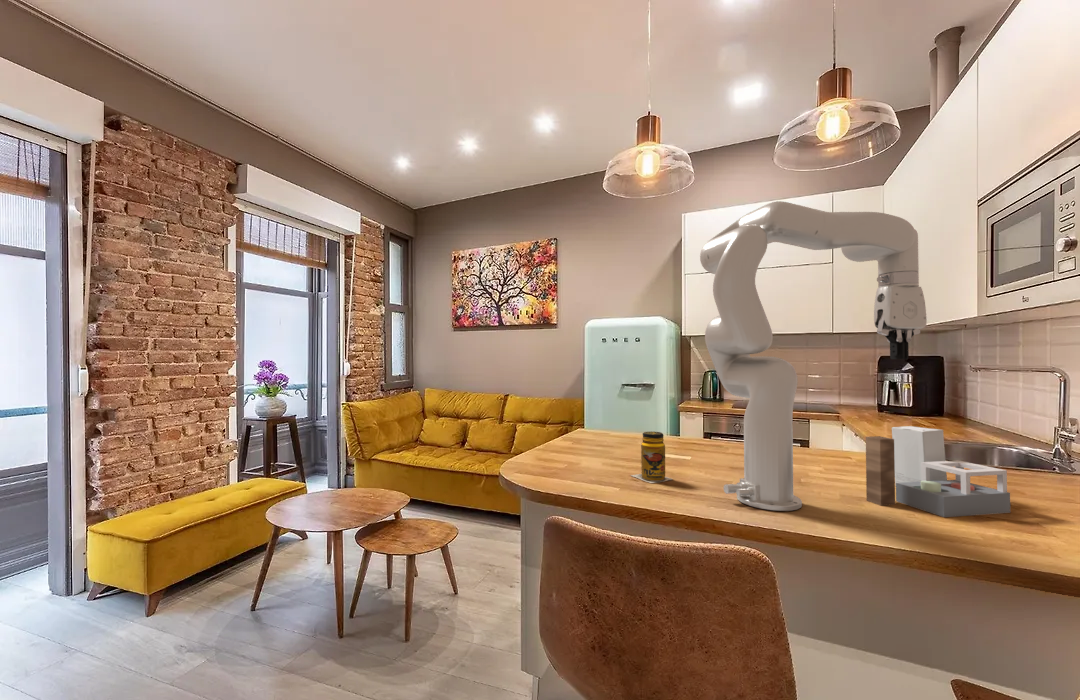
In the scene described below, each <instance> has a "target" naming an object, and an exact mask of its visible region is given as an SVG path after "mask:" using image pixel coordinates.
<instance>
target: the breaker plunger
mask: <svg viewBox="0 0 1080 700" xmlns="http://www.w3.org/2000/svg"><path fill="white" fill-rule="evenodd" d="M951 487H953V488H956V489H960V490H961V483H951ZM970 491H974V486H973V485H970Z"/></svg>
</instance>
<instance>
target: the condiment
mask: <svg viewBox="0 0 1080 700" xmlns="http://www.w3.org/2000/svg"><path fill="white" fill-rule="evenodd" d="M664 436H665V435H664V433H663V432H661V431H644V432H643V433H642V443H641V444H640V455H641V456H640V457H641V462H640V464H641V466H640V467H641V473H639V474H637V473H636V474H630V477H633V478H636V479H639V480H641V481H643V482H646V483H650V484H654V483H655V484H656V483H664V482H667V481H672V480H673V478H670V477H668V476H666V445H665V442H664Z"/></svg>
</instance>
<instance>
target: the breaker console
mask: <svg viewBox="0 0 1080 700" xmlns="http://www.w3.org/2000/svg"><path fill="white" fill-rule="evenodd" d="M930 468H932V469H937V470H941V471H945V472H946V473H951V474H954V475H955V479H947V480H941V481H933V482H938V483H940V484H941V492H930V491H926V490H923V489H921V482H903V483H896V486H895V502H897V503H899V504H900V503H901V504H904V505H906V506H909V507H912V508H916V509H918V510H922V511H925V512H927V513H930V514H934V515H937V516H940V517H943V518H949V517H950V518H951V517H952V518H953V517H967V516H981V515H994V514H995V515H997V514H1008V513H1009V514H1010V513H1011V492H1009V491H1008V483H1007V482H1008V477H1007V476H1008V475H1007V472H1008V471H1007V469H1002V468H996V467H992V466H987V465H983V464H978V463H972V462H968V461H964V460H945V461H937V462H921V481H930ZM976 476H977V477H984V476H996V479H997V481H996V484H997V485H996V487H997V489H996V488H992V487H988V486H985V485H980V484H975V483H972V482H971V477H976ZM951 483H961V490H960V489H956V488H953V487H951ZM970 485H973V486H974V491H970Z"/></svg>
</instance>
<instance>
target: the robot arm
mask: <svg viewBox="0 0 1080 700" xmlns="http://www.w3.org/2000/svg"><path fill="white" fill-rule="evenodd" d="M771 243H780V244H784V245H788V246H789V245H790V246H794V247H800V248H802V249H807V250H812V251H821V250H822V251H823V250H824V251H826V250H835V249H841V253H842V255H843V256H844V257H845V258H847V259H848V260H849V261H852V262H857V263H858V262H859V263H863V262H870V261H871V262H873V261H877V278H876V281H877V284H878V287H877V289H876V292H875V298H874V306H873V307H874V308H873V321H874V326H875V328H876V333H877V334H878V335H882V336H884V337H885V338H886V340H887V343H889V357H890V360H908V359H909V356H910V355H909V343H910V342H911V341H912V338H913V337H914V336H916V335H920V334H921V329H923V328H925V327H926V326H927V323H928V322H927V321H928V320H927V307H926V300H925V295H924V291H923V288H922V286H920V279H919V278H920V275H919V273H920V272H919V271H920V270H919V265H920V264H919V233H918V230H916V229H915V228H914V226H913V225H912V224H911V222H909V221H908V220H906V219H905V218H903V217H900V216H896V215H892V214H889V213H884V212H877V211H834V212H833V211H825V210H820V209H816V208H814V207H813V208H811V207H808V206H803V205H800V204H796V203H792V202H787V201H778V200H777V201H772V202H769V203H767V204H764V205H762V206H760V207H758V208H756V209H754V210H752V211H750V212H748V213H746V214H745V215H743V216H742V217H740V218H738V219H737V220H736V221H735V222H733V223H732V224H731V225H729V226H728V227H726V228H724V230H721V232H719V233H717V234H716V235H715V236H713V237H711V238H710V239H709V240H707V241H706V243H705V244H704V245H703V246H702V248H701V251H700V255H699V260H700V264H701V267H702V268H703V269H704V270H705V271H707V272H708V273H709V274H713V275H714V278H713V282H712V283H713V284H712V293H713V294H712V295H713V298H714V302H715V305H716V309H717V312H718V314H719V315H718V316H716V317H714V318H712V319H711V320H710V321H709V322H708V324H707V325H706V327H705V332H704V333H705V334H704V342H705V345H706V349H707V351H708V354H709V358H710V360H711V362H712V364H713V367H714V368H715V372H716V374H717V376H718V379H719V381H720V383H721V385H722V386H723V389H725V391H726V392H728V393H730V394H731V395H733V396H735V397H739V398H740V397H741V398H746V399H749V400H748V403H747V405H746V408H745V412H744V416H743V468H744V469H743V474H744V475H743V477H744V478H743V477H742V478H739V482H737V483H736V484H734V483H729V484H728V483H726V484H724V485H723V492H724V493H725V494H736V498H737V500H738V501H739V502H741V503H742V504H744V505H747V506H750V507H753V508H756V509H760V510H766V511H767V510H768V511H774V512H775V511H778V512H789V511H796V510H799V509H800V508H802V506H803V501H802V499H801V498H799V497H798V496H796V495H795V494H794V452H793V451H794V446H793V445H794V444H793V443H794V442H793V441H794V436H793V435H794V433H793V432H794V431H793V428H794V427H793V417H794V416H793V413H794V412H793V410H794V405H795V404H794V403H795V398H796V392H797V388H798V383H799V382H798V374H797V371H796V368H795V367H794V365H792V363H790V362H789V361H787V360H786V359H783V358H780V357H776V356H765V355H764V356H762V355H760V356H751V355H754V354H761V353H763V352H764V351H767V350H768V349H769V348H770V347H771V346H772V343H773V339H774V338H773V336H774V335H773V330H772V328H771V325H770V322H769V319H768V317H767V314H766V312H765V310H764V306H763V304H762V302H761V299H760V296H759V294H758V290H757V287H756V285H757V284H756V275H757V272H758V268H759V265H760V263H761V261H763V258H764V256H765V254H766V252H767V249H768V245H769V244H771Z"/></svg>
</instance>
